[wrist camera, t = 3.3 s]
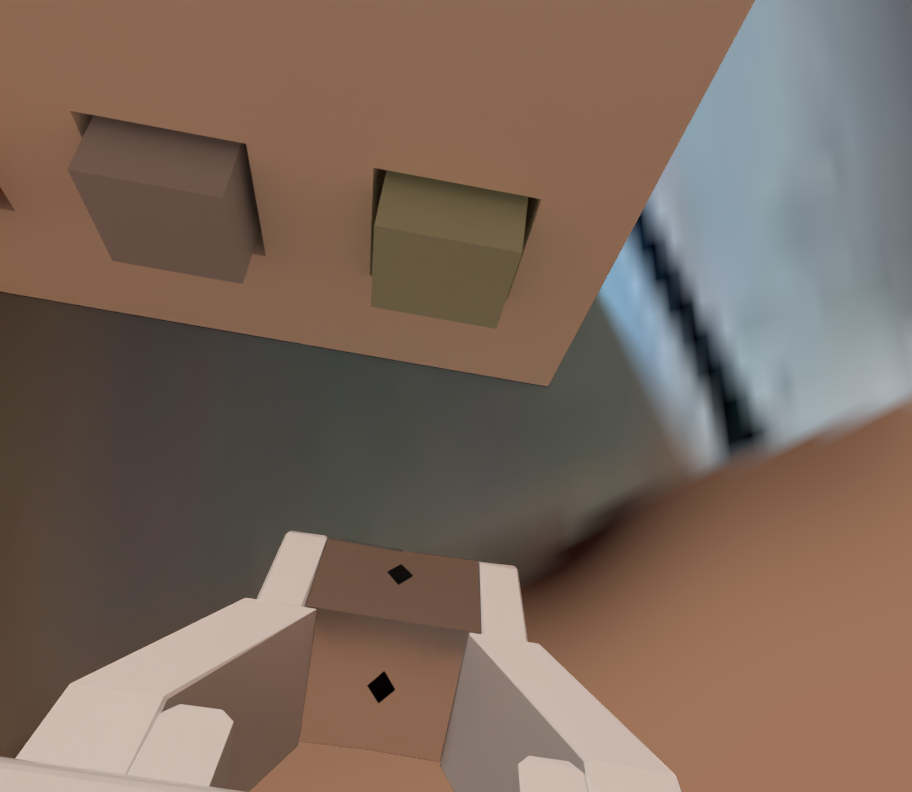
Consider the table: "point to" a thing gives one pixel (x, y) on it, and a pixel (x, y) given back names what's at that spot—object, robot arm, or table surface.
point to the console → (357, 149)
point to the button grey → (168, 198)
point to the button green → (445, 249)
